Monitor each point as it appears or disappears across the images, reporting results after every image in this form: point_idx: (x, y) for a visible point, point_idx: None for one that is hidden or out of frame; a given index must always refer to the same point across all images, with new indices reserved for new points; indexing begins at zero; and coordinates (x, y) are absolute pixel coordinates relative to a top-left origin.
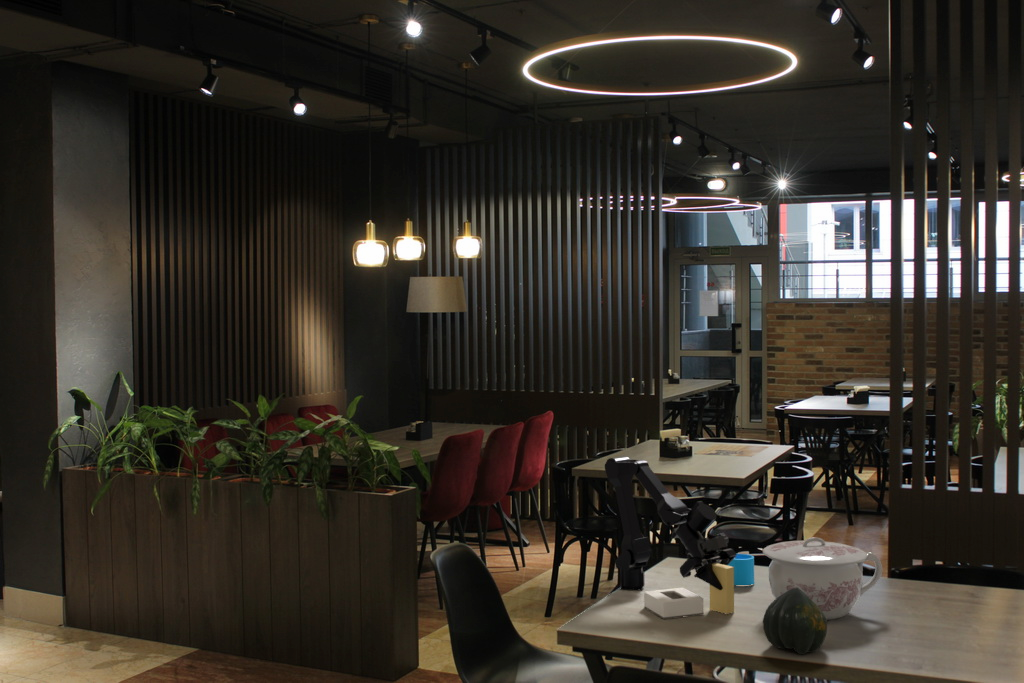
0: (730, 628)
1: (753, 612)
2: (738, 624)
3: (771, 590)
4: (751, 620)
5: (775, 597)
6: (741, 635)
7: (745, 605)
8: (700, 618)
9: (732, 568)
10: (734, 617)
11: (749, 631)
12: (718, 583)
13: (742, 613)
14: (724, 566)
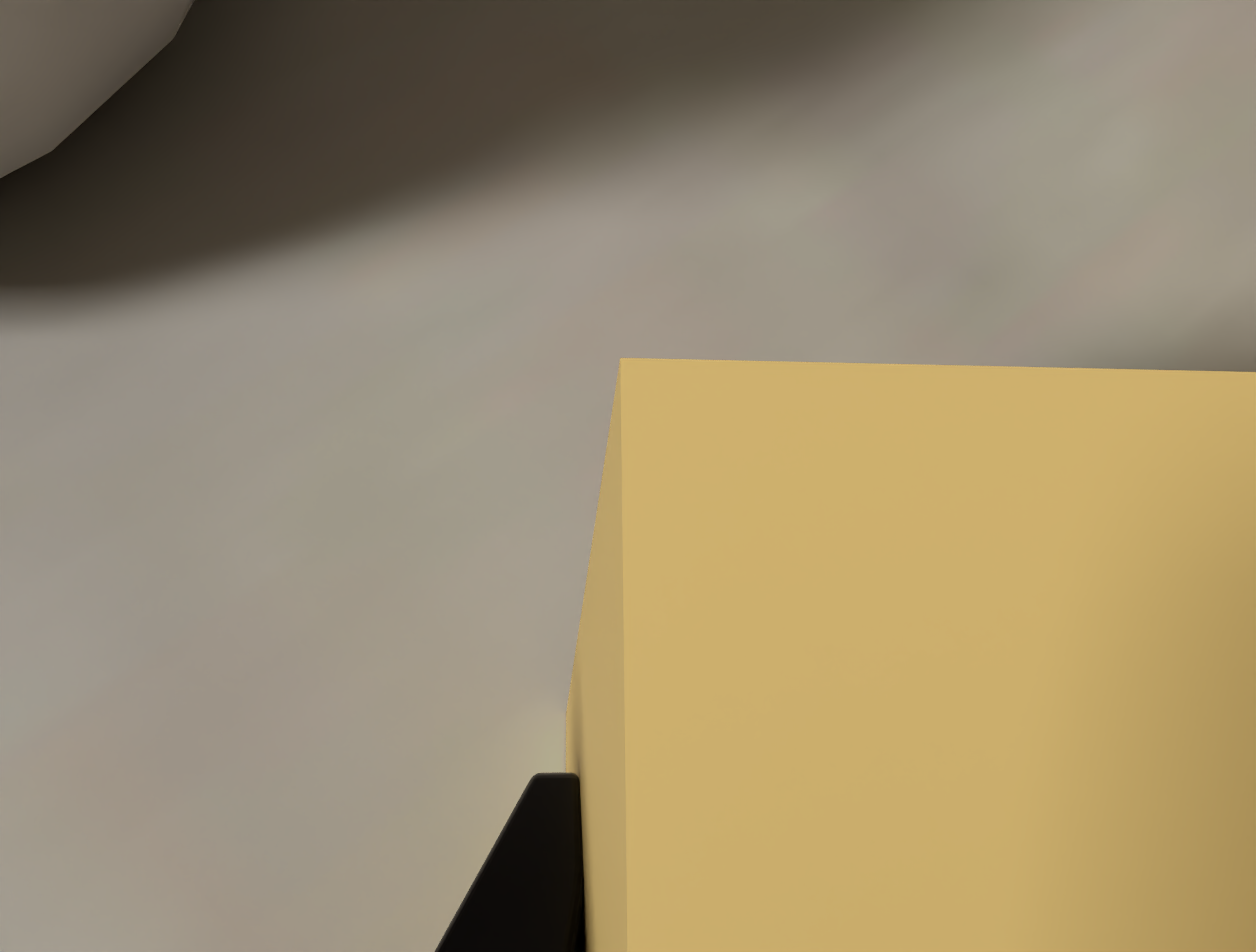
0: (1178, 274)
1: (328, 505)
2: (974, 304)
3: (9, 23)
4: (697, 292)
5: (101, 31)
6: (1241, 54)
7: (17, 880)
8: None
9: (746, 394)
10: None
11: (1064, 71)
12: None
13: (502, 589)
14: (1048, 885)
